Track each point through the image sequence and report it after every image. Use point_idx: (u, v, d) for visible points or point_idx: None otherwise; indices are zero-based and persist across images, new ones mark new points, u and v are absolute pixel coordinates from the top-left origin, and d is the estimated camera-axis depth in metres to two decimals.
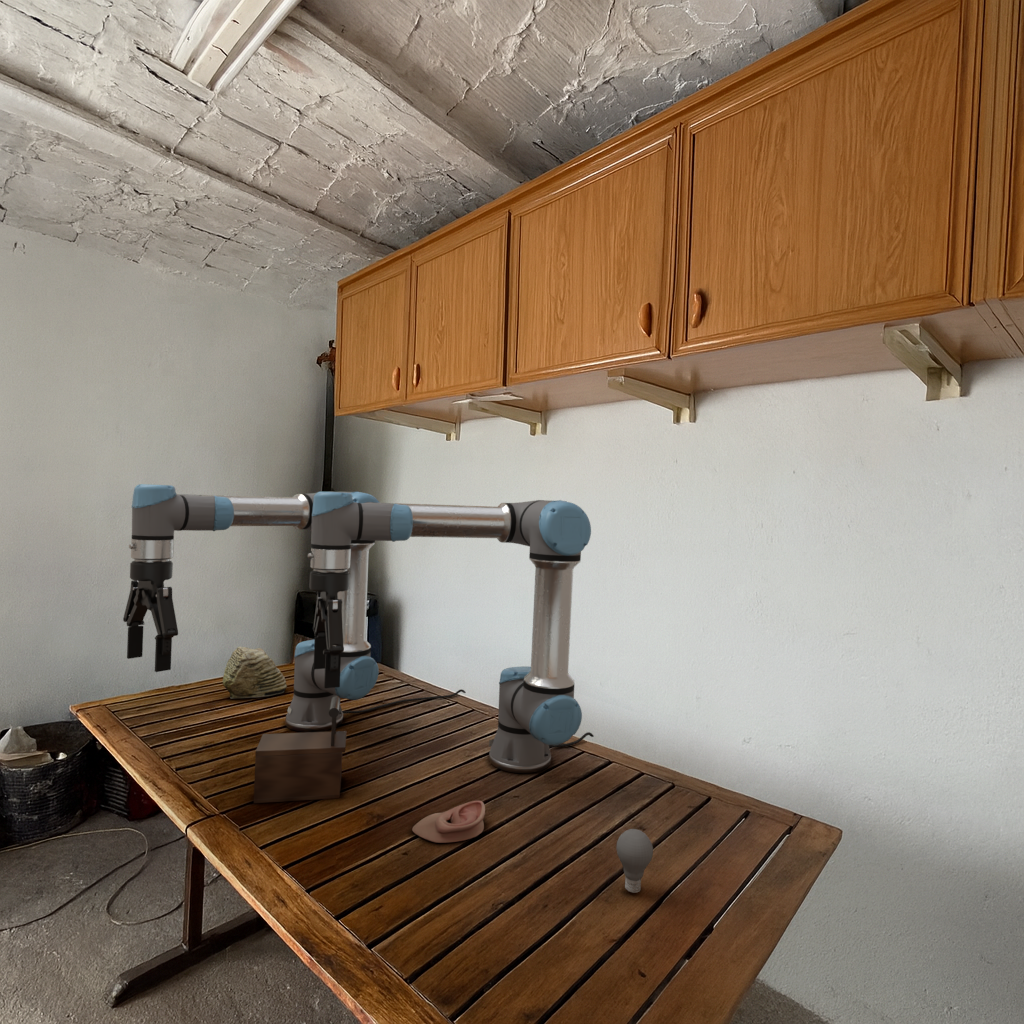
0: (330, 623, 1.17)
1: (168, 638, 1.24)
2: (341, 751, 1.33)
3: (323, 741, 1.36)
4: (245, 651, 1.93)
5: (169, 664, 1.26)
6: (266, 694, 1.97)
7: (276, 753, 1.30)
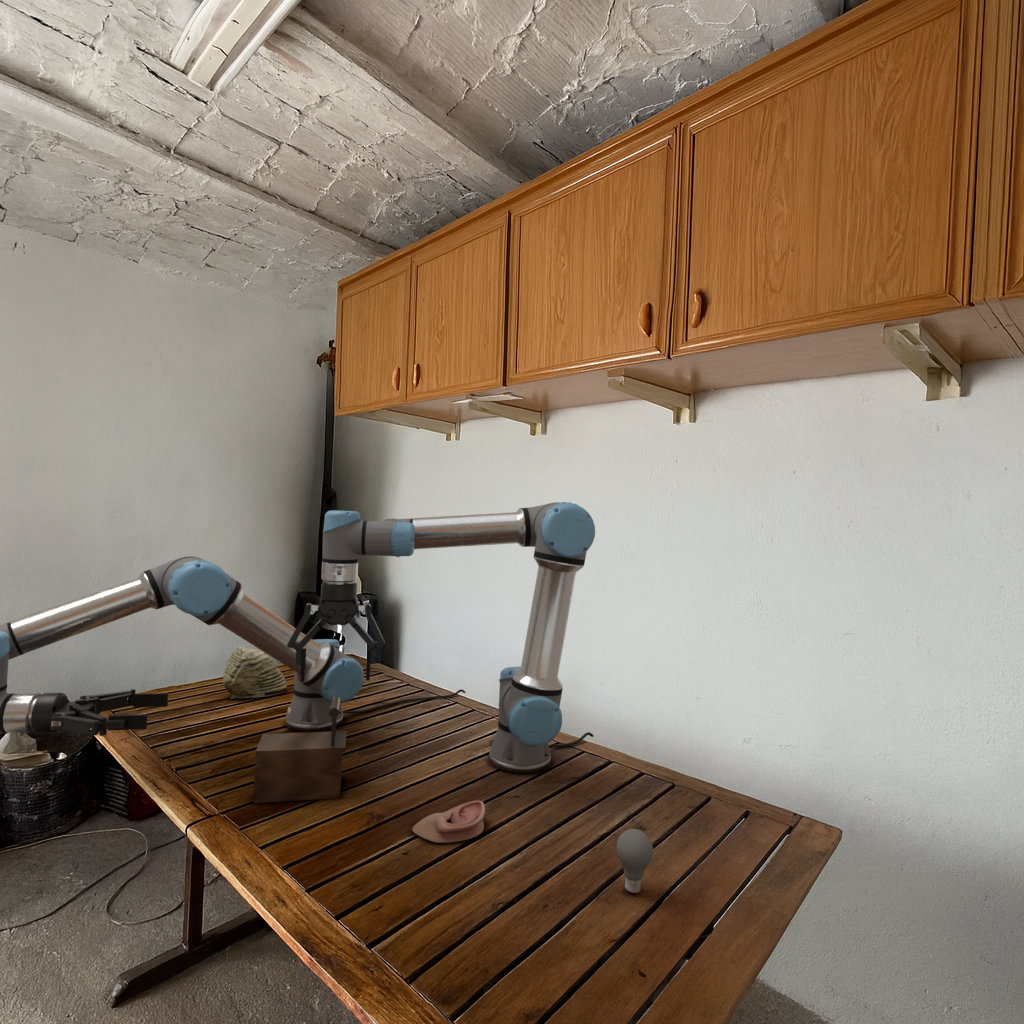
0: (375, 623, 1.38)
1: (104, 725, 1.20)
2: (341, 751, 1.33)
3: (323, 741, 1.36)
4: (245, 651, 1.93)
5: (139, 717, 1.22)
6: (266, 694, 1.97)
7: (276, 753, 1.30)
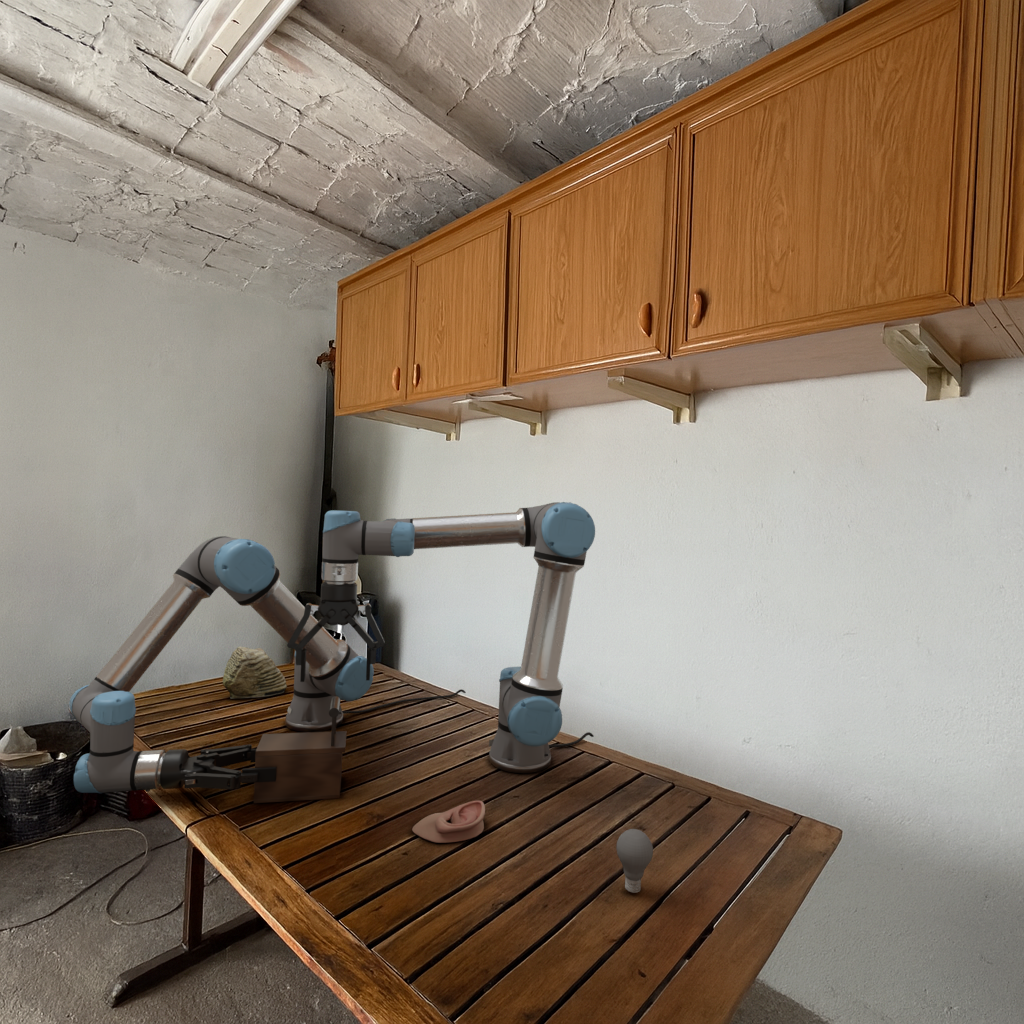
0: (375, 623, 1.38)
1: (239, 778, 1.27)
2: (341, 751, 1.33)
3: (323, 741, 1.36)
4: (245, 651, 1.93)
5: (270, 769, 1.30)
6: (266, 694, 1.97)
7: (276, 753, 1.30)
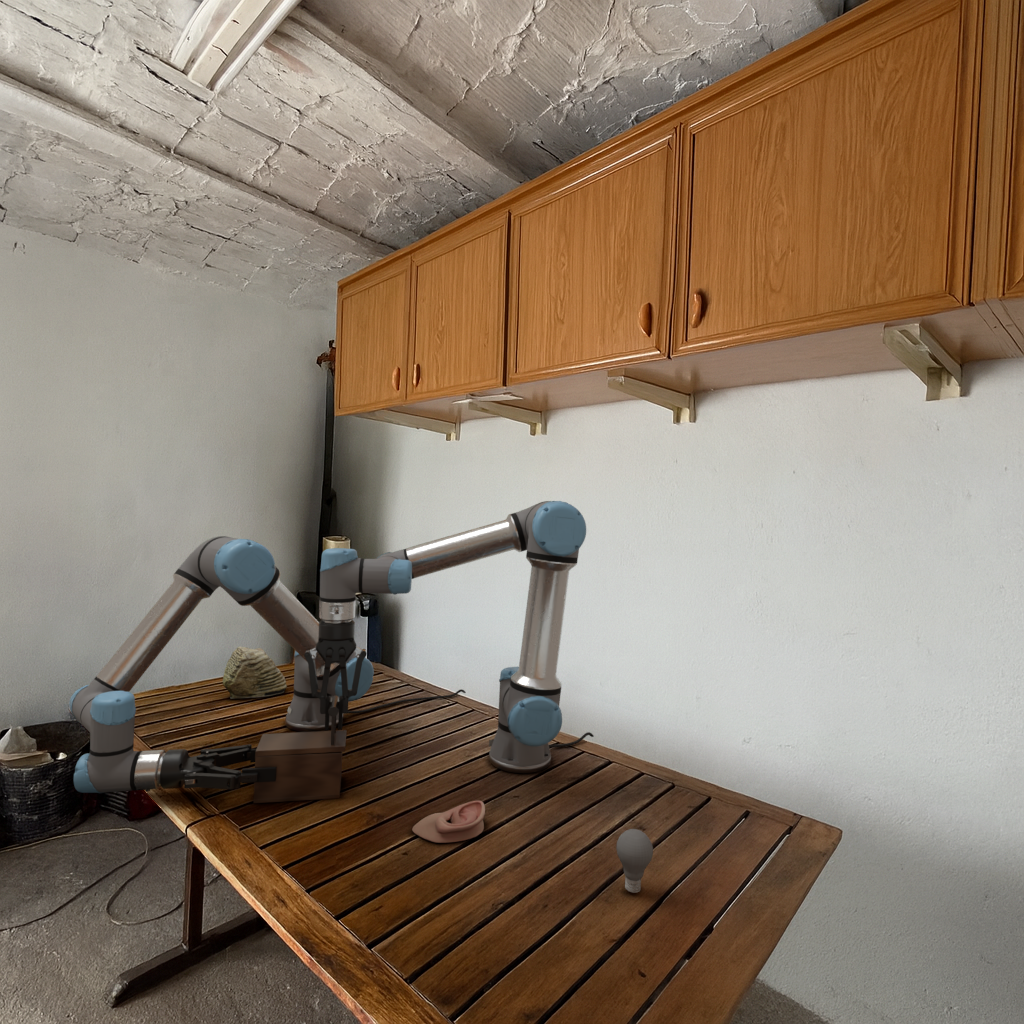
0: (360, 671, 1.38)
1: (239, 778, 1.27)
2: (341, 750, 1.33)
3: (323, 740, 1.36)
4: (245, 651, 1.93)
5: (270, 769, 1.30)
6: (266, 694, 1.97)
7: (276, 753, 1.30)
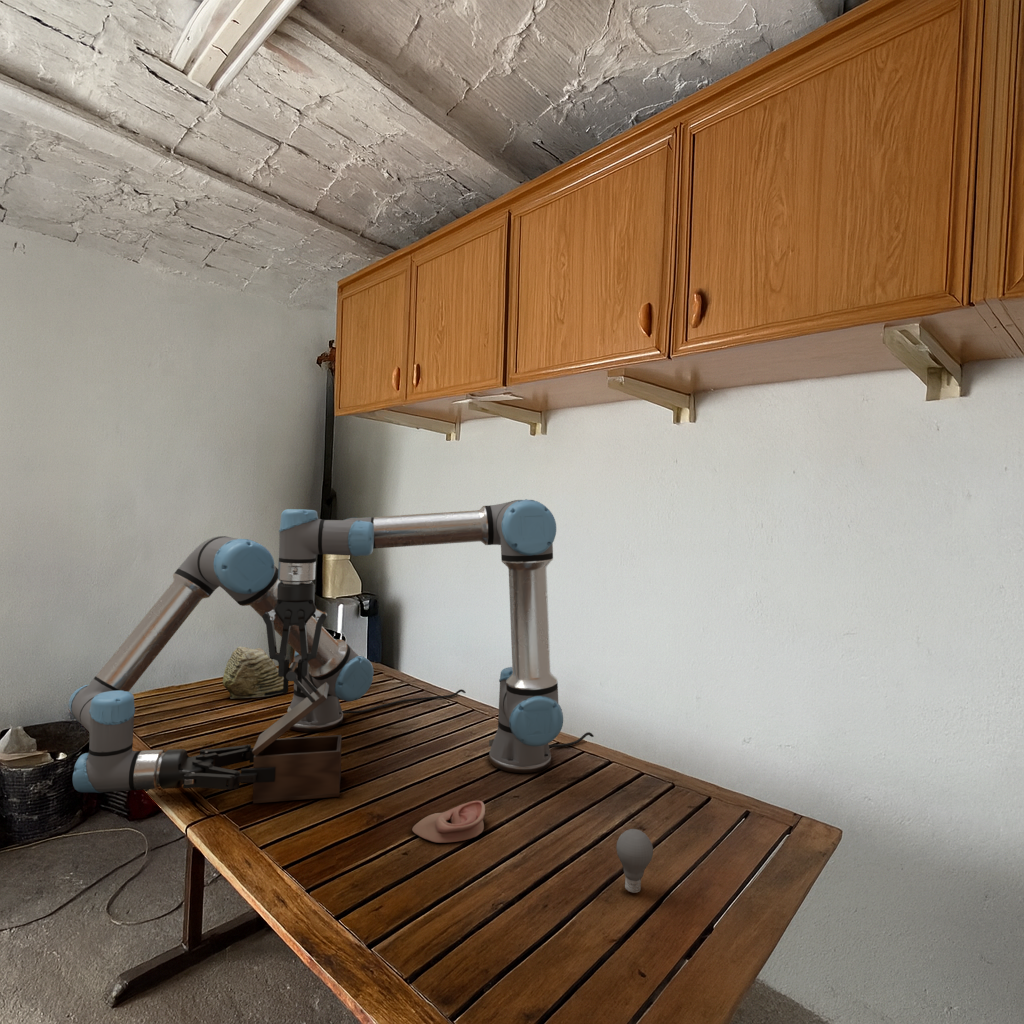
0: (320, 634, 1.35)
1: (238, 779, 1.27)
2: (323, 700, 1.32)
3: (306, 703, 1.35)
4: (245, 651, 1.93)
5: (269, 770, 1.29)
6: (266, 694, 1.97)
7: (270, 741, 1.30)
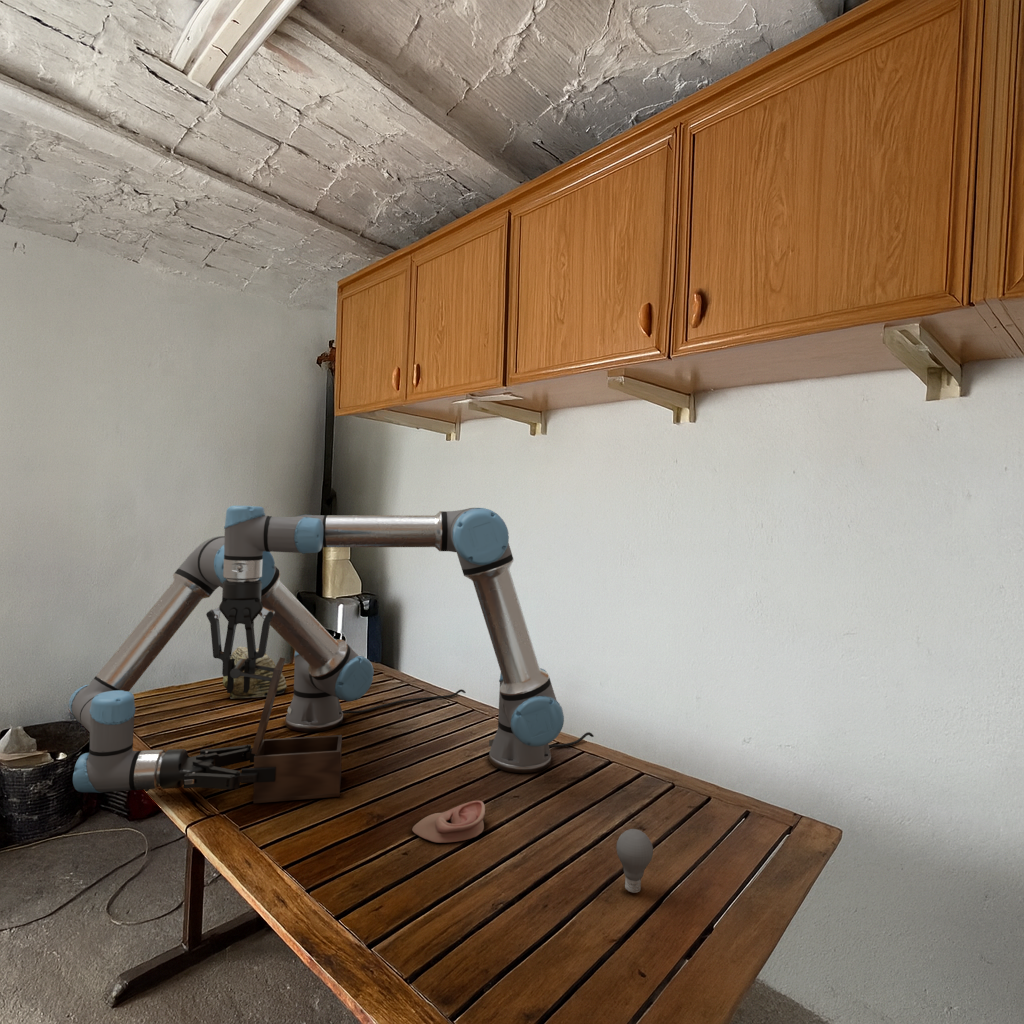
0: (267, 633, 1.33)
1: (239, 778, 1.27)
2: (277, 673, 1.30)
3: None
4: (245, 651, 1.93)
5: (269, 770, 1.29)
6: (266, 694, 1.97)
7: (259, 734, 1.30)
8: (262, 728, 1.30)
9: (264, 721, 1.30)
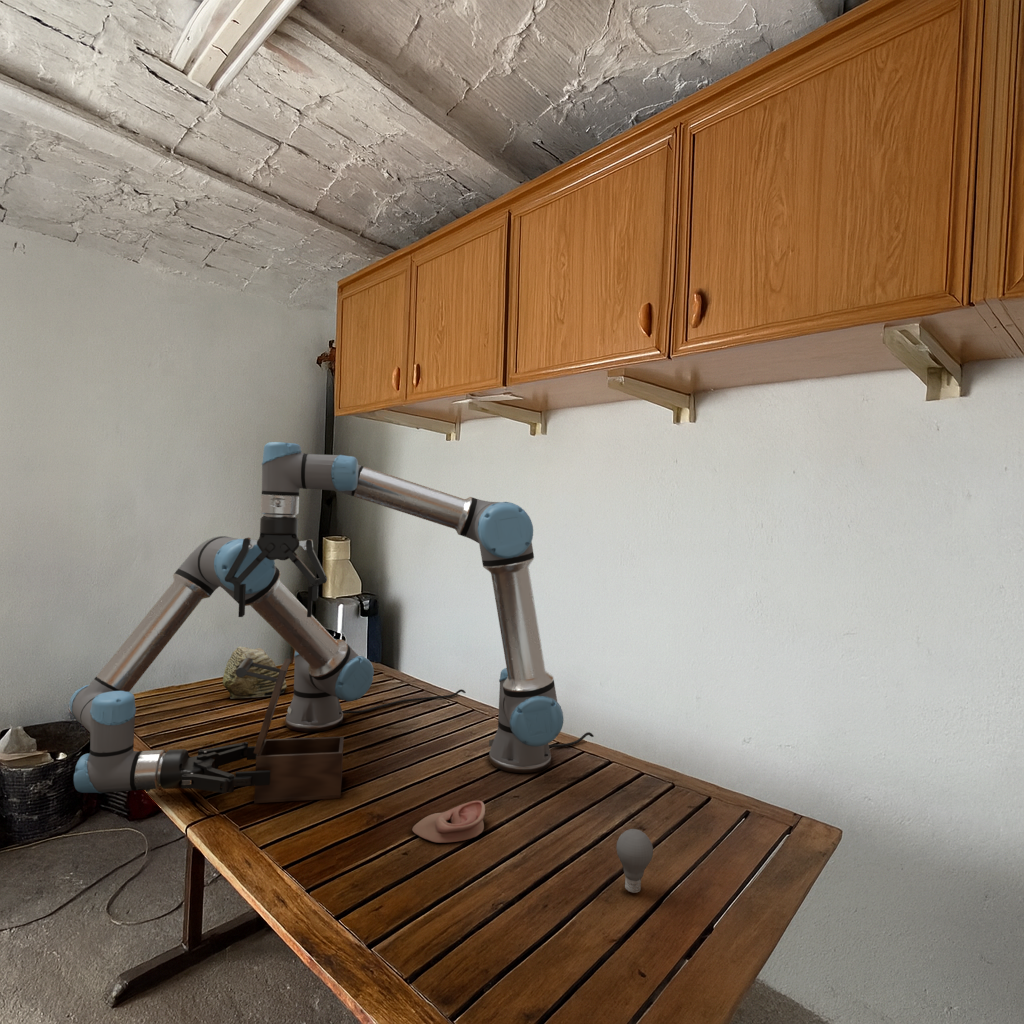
0: (317, 559, 1.35)
1: (233, 782, 1.25)
2: (283, 673, 1.30)
3: None
4: (245, 651, 1.93)
5: (264, 773, 1.28)
6: (266, 694, 1.97)
7: (262, 734, 1.30)
8: (265, 728, 1.30)
9: (268, 721, 1.30)
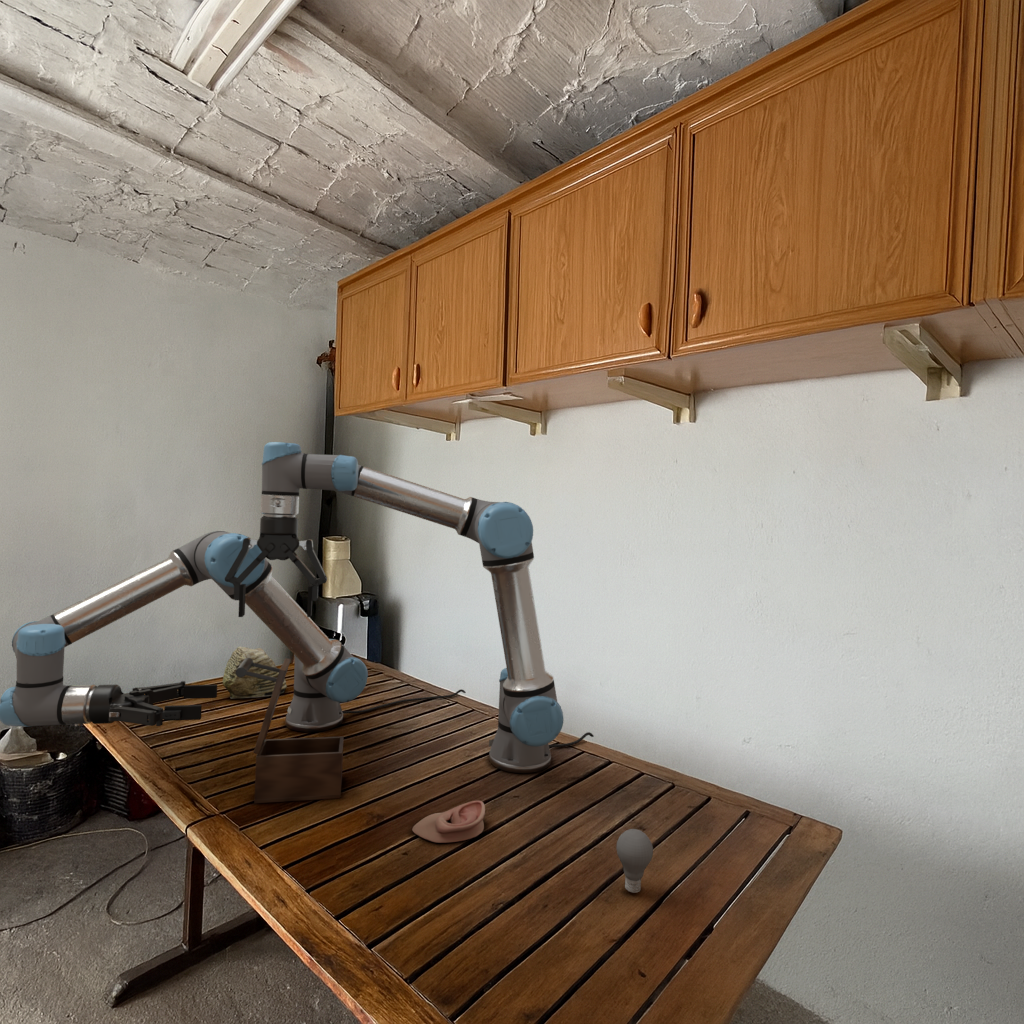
0: (317, 559, 1.35)
1: (161, 715, 1.22)
2: (283, 673, 1.30)
3: None
4: (245, 651, 1.93)
5: (194, 707, 1.24)
6: (266, 694, 1.97)
7: (262, 734, 1.30)
8: (265, 728, 1.30)
9: (267, 721, 1.30)
